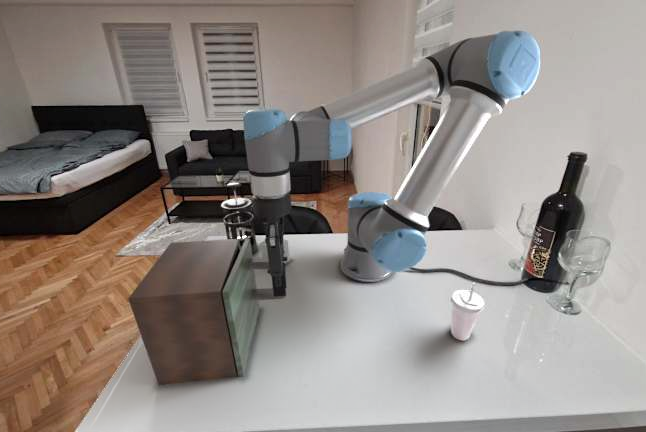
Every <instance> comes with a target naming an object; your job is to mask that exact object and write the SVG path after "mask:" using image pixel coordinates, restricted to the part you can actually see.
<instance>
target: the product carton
mask: <svg viewBox="0 0 646 432" xmlns="http://www.w3.org/2000/svg"><path fill="white" fill-rule="evenodd" d="M283 245H284V251H285V253H284V257H287V261H283V262H285V265H286V264H288V263H289V262H290V261H291V260H290V259H291V258H290V249H289V248H290V247H289V241H288V239H285V238H283ZM259 248H260V254H261V255H260V256H261V258H268V252H267V246H266V242H265V240H263V241H262V242H260V243H259Z"/></svg>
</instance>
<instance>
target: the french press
mask: <svg viewBox="0 0 646 432" xmlns="http://www.w3.org/2000/svg"><path fill="white" fill-rule="evenodd" d="M241 186H242V183H240V182H231V183H228V184H226V188H229V189H232V191H233V193H234V198H230V199H227V200H224V201H223V202H222V203H221V204H220V207H221V208H222V209H223V213H226V212H227V211H236V212H233V213H230V214H227V215H225V217H223V219H222V220H223V225H224V227H225V234H226V240H228V239H239V241H240V247H242V246H243V244H244V241H245V239H250V243H251V250H252V256H254V255H255V254H256V253H258V251H259V246H258V244H257V238H256V229H255V223H254V221H255V219H254V218H255V217H254V215H253V213H251V212H250V211H251V210H252V209H251V207H252V206H251V205H252V204H253V203H252V199H249V198H246V197H237V193H236V191H237V188H240V187H241ZM236 217H237V220H238V223H237V222H236V223H230V222H228V220H230V219H233V218H236ZM240 217H241V219H242V222H241V221H240Z"/></svg>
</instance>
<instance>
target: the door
mask: <svg viewBox="0 0 646 432" xmlns="http://www.w3.org/2000/svg"><path fill="white" fill-rule="evenodd" d="M240 248H241V250H240V253H239V255H238V257H237V260H236V262H235V264H234V266H233V269H232V271H231V273H230V275H229V278H228V280H227V282H226V285H225V287H224V289H223V291H222V294H223V299H224V304H225V309H226V315H227V320H228V325H229V330H230V335H231V340H232V346H233V351H234V356H235V361H236V366H237V372H238V374H237V377H244V376H245V372H246V369H247V364H248V360H249V356H250V352H251V347H252V343H253V340H254V335H255V331H256V327H257V323H258V318H259V314H260V311H261V310H260V302H259V301H268V300H269V301H270V300H284V299H286V297H287V295H286V296H278V297H274V294H273V287H272V288H271V287H270V288H269V287H268V288H257V287H258V286H257V280H256V273H255V272H256V271H255V270H270V268H269V260H268V258H262V257H253V255H252V250H251V243H250V239H245V241H244V244H243V245H241V247H240Z"/></svg>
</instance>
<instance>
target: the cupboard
mask: <svg viewBox="0 0 646 432" xmlns="http://www.w3.org/2000/svg"><path fill="white" fill-rule="evenodd" d="M241 248H242V247H241V246H240V241H239V239H228V240H227V239H212V240H195V241H194V240H193V241H178V242H170V243H169V244H168V245H167V247H166V248H165V250H164V251H163V252H162V254H161V255H160V256H159V257H158V259H157V260H156V261H155V263H154V264H153V265H152V266H151V268H150V269H149V270H148V272H147V273H146V274H145V276H144V277H143V278H142V279H141V281H140V282H139V283H138V285H137V286H136V287H135V289H134V290H133V291H132V292H131V294H130V295H129V297H128V298H127V299H128V303H129V305H130V308H131V311H132V314H133V317H134V320H135V323H136V325H137V328H138V331H139V334H140V336H141V339H142V342H143V345H144V348H145V350H146V353H147V356H148V360H149V362H150V365H151V368H152V371H153V374H154V376H155V379H156V382H157V384H158V386H167V385H174V384H176V385H177V384H184V383H194V382H203V381H213V380H222V379H223V380H224V379H231V378H232V379H233V378H237V377H238V372H237V366H236V361H235V356H234V351H233V346H232V340H231V335H230V330H229V325H228V320H227V315H226V309H225V304H224V299H223V294H222V291H223V289H224V287H225V285H226V282H227V280H228V278H229V275H230V273H231V271H232V269H233V266H234V264H235V262H236V260H237V257H238V255H239V253H240V250H241Z"/></svg>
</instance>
